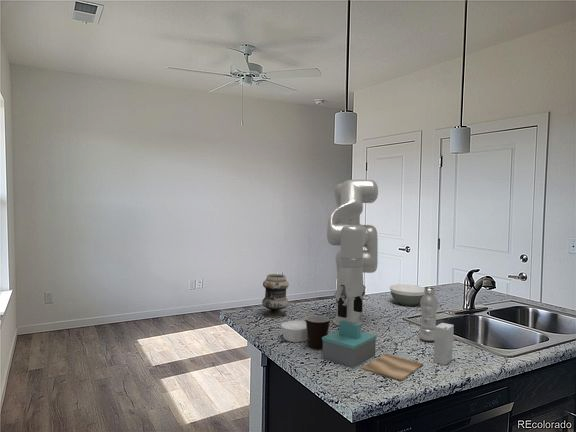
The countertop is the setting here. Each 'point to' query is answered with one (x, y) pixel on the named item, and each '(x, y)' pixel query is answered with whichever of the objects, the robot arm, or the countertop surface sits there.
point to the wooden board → (393, 367)
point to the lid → (349, 335)
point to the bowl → (407, 294)
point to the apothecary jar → (275, 295)
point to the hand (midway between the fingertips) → (350, 314)
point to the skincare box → (443, 343)
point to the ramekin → (294, 331)
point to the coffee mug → (316, 330)
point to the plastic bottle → (428, 315)
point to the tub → (348, 353)
